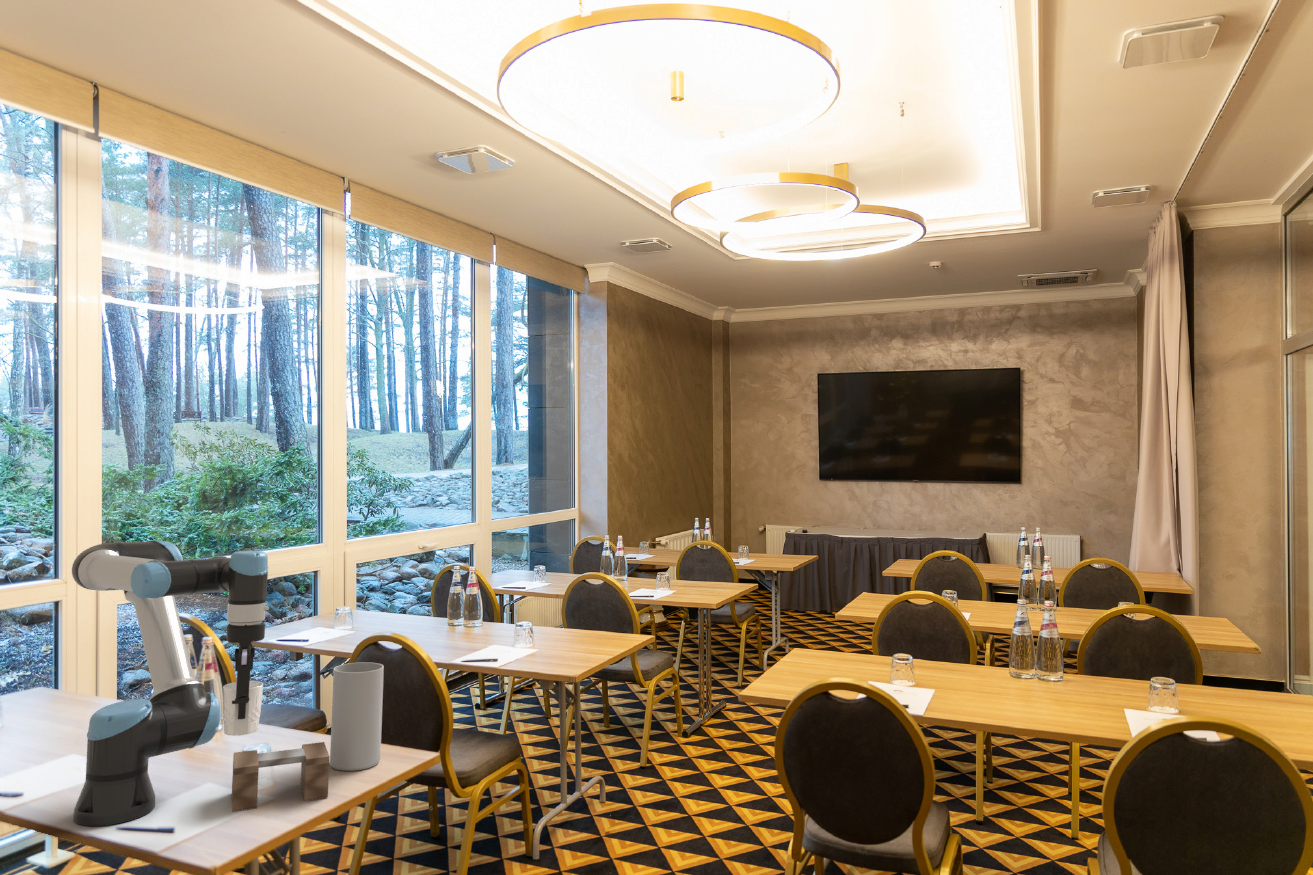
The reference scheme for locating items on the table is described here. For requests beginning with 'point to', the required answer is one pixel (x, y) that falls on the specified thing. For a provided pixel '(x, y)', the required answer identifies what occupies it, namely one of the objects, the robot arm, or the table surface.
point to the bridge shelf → (307, 776)
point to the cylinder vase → (356, 716)
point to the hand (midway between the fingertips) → (241, 727)
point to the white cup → (254, 706)
